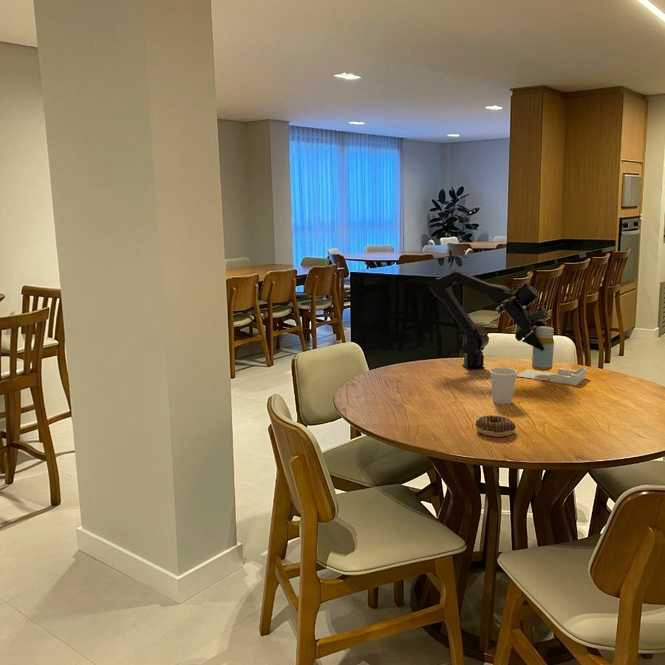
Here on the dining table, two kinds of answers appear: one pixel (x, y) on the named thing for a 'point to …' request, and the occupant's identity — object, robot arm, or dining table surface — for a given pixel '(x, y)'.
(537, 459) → the dining table surface
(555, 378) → the dock
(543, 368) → the bottle
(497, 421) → the donut
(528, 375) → the mat
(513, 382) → the dixie cup
